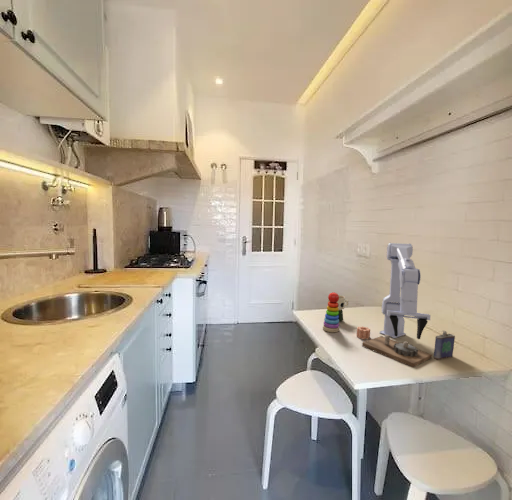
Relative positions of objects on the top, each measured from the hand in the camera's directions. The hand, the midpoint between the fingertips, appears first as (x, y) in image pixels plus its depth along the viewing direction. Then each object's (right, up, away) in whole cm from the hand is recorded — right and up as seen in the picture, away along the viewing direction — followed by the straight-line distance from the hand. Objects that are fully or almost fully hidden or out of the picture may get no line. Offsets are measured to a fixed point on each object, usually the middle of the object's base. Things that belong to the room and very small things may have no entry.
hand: (407, 337), depth 113 cm
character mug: (-13, -5, +49) cm, 51 cm away
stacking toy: (-20, -7, +35) cm, 41 cm away
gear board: (+1, -9, +12) cm, 15 cm away
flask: (+18, -11, +8) cm, 23 cm away
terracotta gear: (-7, -8, +27) cm, 29 cm away
